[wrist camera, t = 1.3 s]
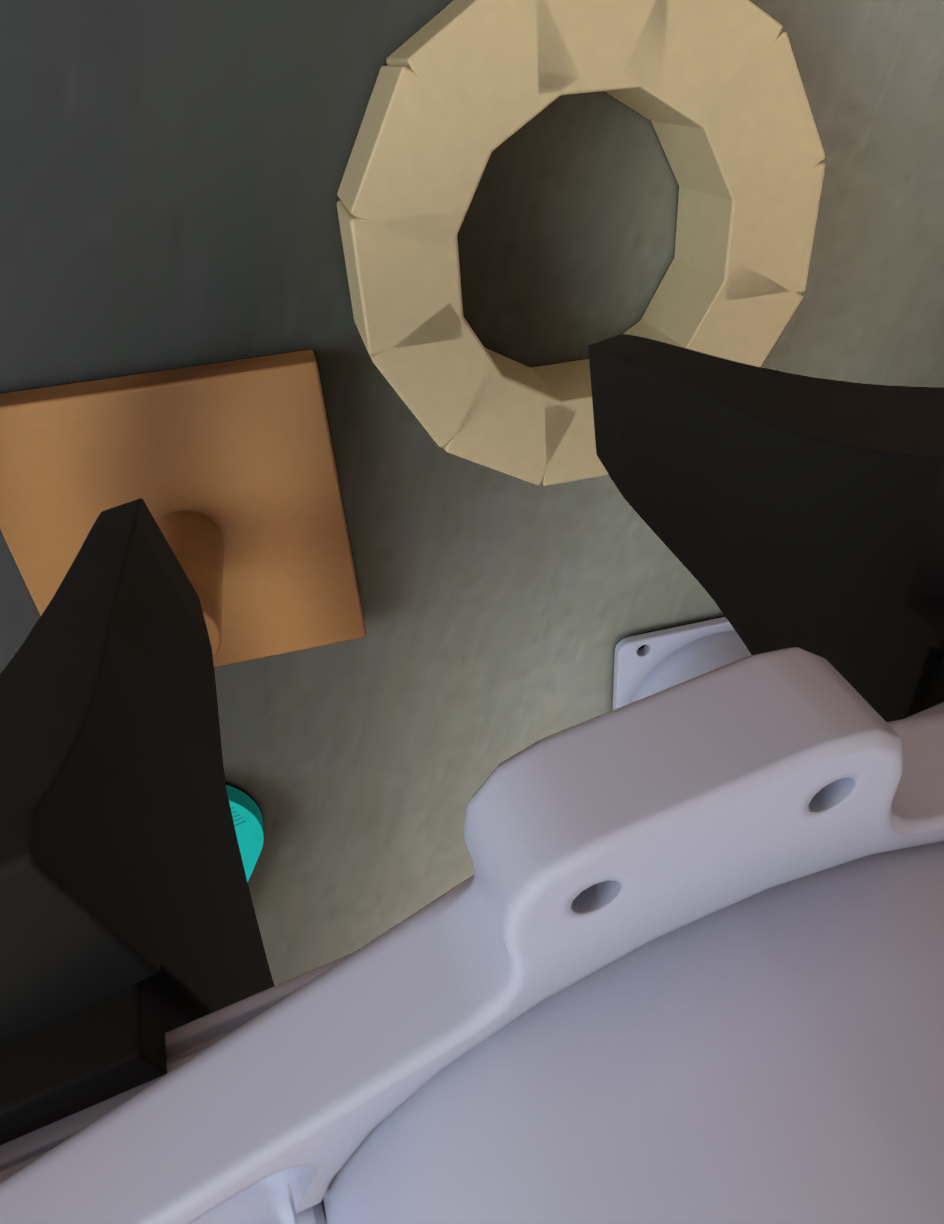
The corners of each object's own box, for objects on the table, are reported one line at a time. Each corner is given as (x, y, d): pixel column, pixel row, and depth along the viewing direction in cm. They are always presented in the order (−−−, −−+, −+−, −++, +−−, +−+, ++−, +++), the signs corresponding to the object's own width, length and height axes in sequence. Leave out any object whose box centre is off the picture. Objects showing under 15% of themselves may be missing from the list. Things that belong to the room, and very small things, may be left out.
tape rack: (313, 348, 22) (334, 429, 17) (362, 617, 27) (390, 737, 22) (-41, 398, 21) (-126, 501, 16) (82, 671, 26) (47, 812, 21)
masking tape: (787, -54, 19) (865, -70, 17) (731, 409, 26) (782, 445, 24) (302, -19, 18) (313, -31, 15) (376, 469, 24) (391, 514, 22)
